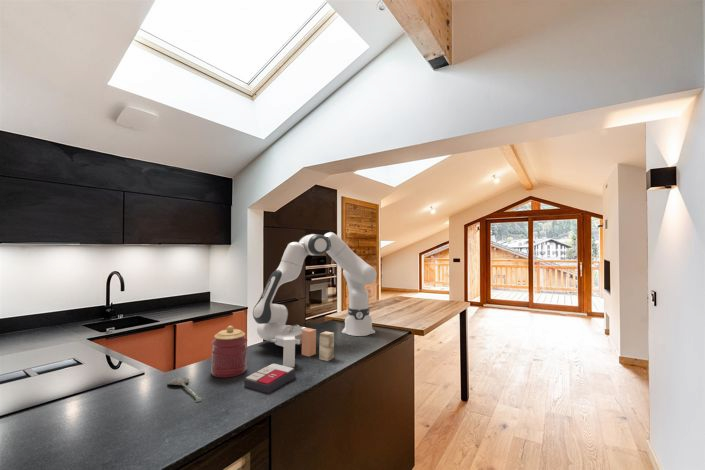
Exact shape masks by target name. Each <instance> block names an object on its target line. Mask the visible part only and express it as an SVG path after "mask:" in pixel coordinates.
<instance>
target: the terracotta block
mask: <svg viewBox="0 0 705 470" xmlns="http://www.w3.org/2000/svg"><path fill="white" fill-rule="evenodd" d="M306 328H307V329H304V330H302V341H301V342H302V343H301V355H302V356H306V357H312V356H314V355H317V352H316V351H317V350H316V349H317V329H316V328H315V329H314V328H310V327H306Z"/></svg>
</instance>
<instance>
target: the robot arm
mask: <svg viewBox="0 0 705 470" xmlns="http://www.w3.org/2000/svg"><path fill="white" fill-rule="evenodd" d="M325 253H326V254H327V255H328V256H329V258H331V259H332V260H333V261H334V262H335V263H336V265H338V266H339V267H340V268H341V269H343V271H342V275H343V277H344V279H345V281H346V285H347V289H348V309H347V311H348V312H347V314H348V315H347V316H346V317H345V319H344V328H343V329H342V330H341V333H342V334H344V335H345V334H346V335H349V336H355V337H356V336H357V337H364V336H368V335H371V334H372V335H373V334H376V330H374V329H373V319H372V317H371V316H370V307H369V306H370V305H369V302H370V301H369V300H370V299H369V296H370V295H369V292H368V290H367V288H366V286H365V285H369V284H373V283H374V282H375V281H376V279H377V275H378V274H377V270H376V268H375V267H373V266H371V265H370V264H369V263H368V262H366V261H365V260H364V259H362V258H361V257H360V256H359V255H358V254H356V253H355V252H354V251H353V250H352V249H351V248H350V246H349V245H347V243H346V242H345V241H344V240H343V239H342V238H341V237H340V236H339V235H337V234H336V233H334V232H332V231H329V232H326V233H324V235H323V234H318V233H316V234H315V233H311V234H305V235H304V236H302V237H301V238H299V240H298V241H292V242H289V243H287V246H286V248H285V249H284V252H283V255H282V257H281V260H280V263H279V265H278V267H277V268H276V269H275V270H274V271H272V273H271V275H270V276H269V278H268V280H267V282H266V284H265V287H264V289H263V291H262V293H261V295H260V297H259V299H258V301H257V302H256V304H255V305H254V307H253V310H252V316H253V319H254V321H255V322H256V324H258V326H257V329H256V332H257V335H258V337H259V338H260V339H262V340H264V341H267V342H271V343H274V344H275V345H276V346H279V347H282V348H283V344H284V337H293V336H295V345H302V330H304V329H307V328H308V327H305V326H300V325H299V324H291V325H289V324H286V323H287V321H288V316H289V310H288V307H286V306H285V304H278V303H273V300H274V298H275V296H276V295H277V294H276V293H277V292H278V289H279V288H280V286H282V285H283V284H286V283H288V282H292V281H294V280H296V279H297V278H298V277H299V275H300V274H301V272H302V269H303V265H304V262H305V259H306V257H308V256H321V255H323V254H325Z"/></svg>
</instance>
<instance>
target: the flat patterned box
mask: <svg viewBox="0 0 705 470" xmlns="http://www.w3.org/2000/svg"><path fill="white" fill-rule="evenodd" d="M294 379H296V369H295V367H287V366H283V364H278V363H270V365H267V366H264V367H263V368H261V369H259V370H257V371H256V372H254V373H251V374H250V375H248V376H246V377H245V378H244V380H243V381H244V382H243V383H244V387H245V388H247V389H251V390H255V391H258V392H261V393H264V394H270V393H272V392H273V391H275V390H277V389H279V388H280V387H282V386H284V385H285V384H287V383H289V382H292V380H294Z"/></svg>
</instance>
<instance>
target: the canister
mask: <svg viewBox="0 0 705 470" xmlns="http://www.w3.org/2000/svg"><path fill="white" fill-rule="evenodd" d="M245 336H246V333H245V332H244V331H243V330H241V329H237V328H234V326H233V325H228V326H227V327H226V329H222V330H220V331H218V332H216V334H215V335H214V336H213V337H214V340H212V341H211V345H212V350H211V367H210V371H211V375H212V376H213V377H216V378H232V377H233V378H234V377H237V376H241V375H243V374H244V373H245V372H246V371H247V365H248V364H247V352H248V351H247V350H248V347H247V342H248V338H247V337H245Z"/></svg>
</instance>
